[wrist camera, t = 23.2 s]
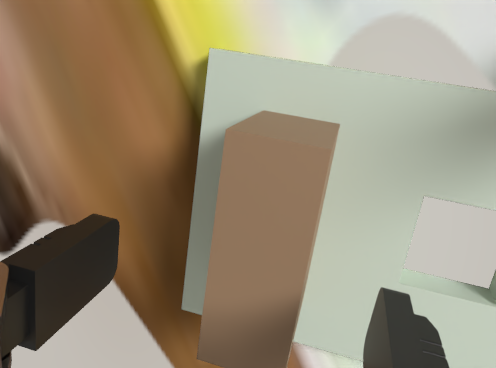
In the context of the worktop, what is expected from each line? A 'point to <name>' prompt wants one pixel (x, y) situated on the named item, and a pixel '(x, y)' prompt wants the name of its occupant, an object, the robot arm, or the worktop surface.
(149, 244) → the worktop surface
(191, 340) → the worktop surface
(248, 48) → the worktop surface
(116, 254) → the robot arm
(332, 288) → the lid
